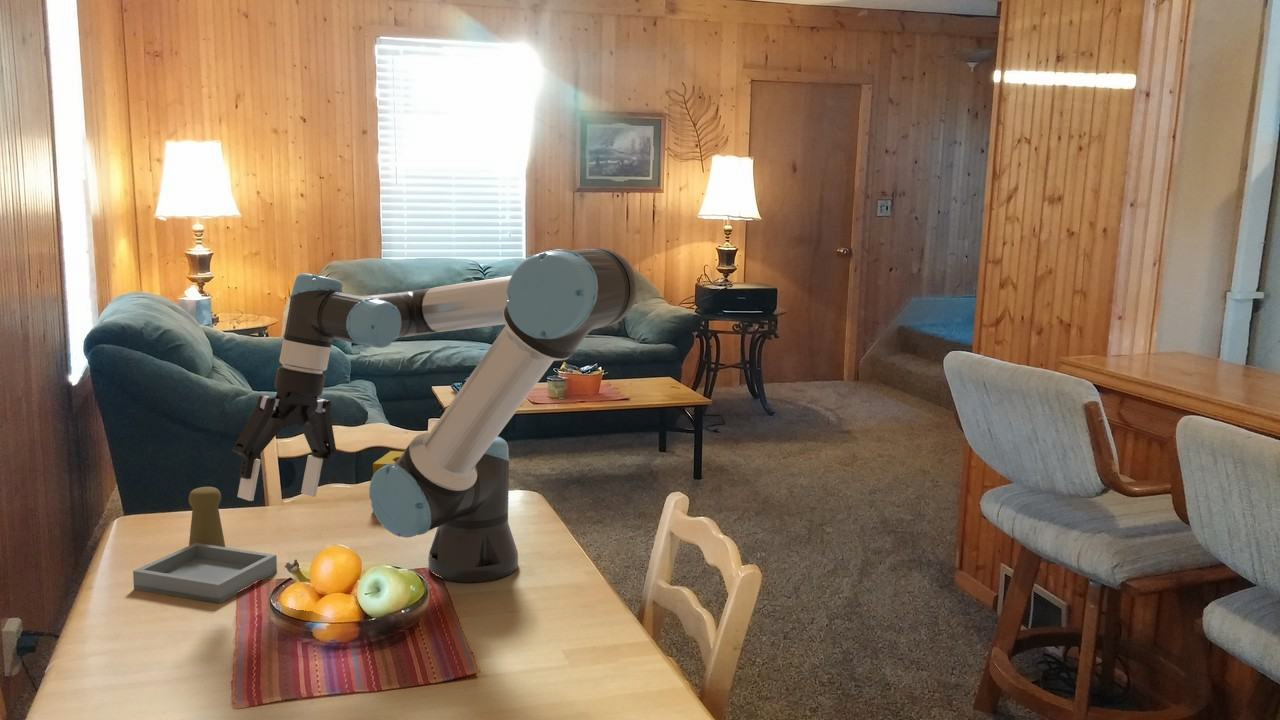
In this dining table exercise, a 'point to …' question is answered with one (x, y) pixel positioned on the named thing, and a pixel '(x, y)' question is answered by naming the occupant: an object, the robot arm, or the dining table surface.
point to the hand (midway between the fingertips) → (277, 497)
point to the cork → (206, 517)
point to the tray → (205, 572)
